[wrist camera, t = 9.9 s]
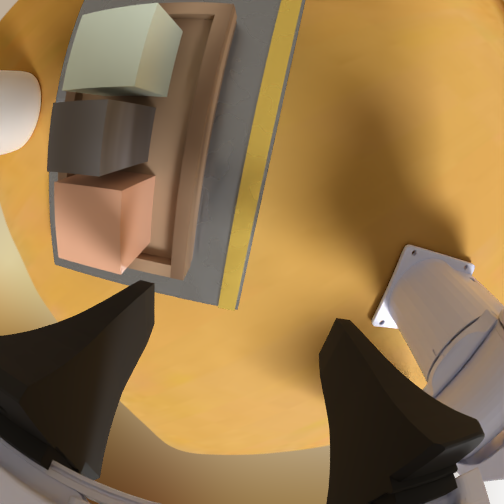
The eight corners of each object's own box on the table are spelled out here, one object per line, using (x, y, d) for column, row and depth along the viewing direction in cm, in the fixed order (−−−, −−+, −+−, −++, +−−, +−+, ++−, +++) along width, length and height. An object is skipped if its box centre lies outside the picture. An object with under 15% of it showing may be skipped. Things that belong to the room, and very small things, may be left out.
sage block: (182, 31, 10) (157, 2, 7) (166, 97, 12) (134, 86, 8) (119, 34, 10) (82, 14, 7) (104, 96, 12) (61, 90, 8)
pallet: (238, 23, 12) (223, -38, 5) (193, 259, 18) (161, 326, 12) (108, 25, 11) (46, -5, 5) (82, 235, 18) (22, 280, 11)
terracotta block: (155, 175, 14) (122, 190, 10) (150, 242, 16) (121, 274, 12) (96, 168, 14) (54, 182, 10) (95, 230, 15) (58, 257, 12)
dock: (300, 11, 13) (306, -5, 10) (239, 291, 22) (237, 311, 19) (99, 8, 12) (82, -1, 10) (70, 252, 21) (53, 265, 19)
